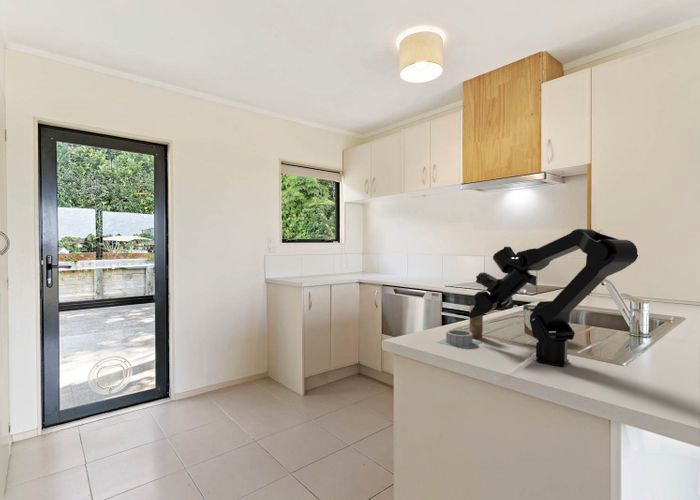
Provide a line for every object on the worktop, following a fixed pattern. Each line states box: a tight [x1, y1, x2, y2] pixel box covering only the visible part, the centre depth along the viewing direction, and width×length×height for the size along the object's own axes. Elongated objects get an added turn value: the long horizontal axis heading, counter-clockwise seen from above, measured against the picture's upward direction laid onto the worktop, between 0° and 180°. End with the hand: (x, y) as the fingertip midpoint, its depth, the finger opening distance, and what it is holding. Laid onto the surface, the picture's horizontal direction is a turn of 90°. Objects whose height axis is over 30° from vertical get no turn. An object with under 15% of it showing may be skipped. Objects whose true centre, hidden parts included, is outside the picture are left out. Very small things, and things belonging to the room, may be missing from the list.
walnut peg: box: [468, 305, 484, 340], centre depth 117 cm, size 4×4×11 cm
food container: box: [522, 304, 538, 341], centre depth 123 cm, size 12×6×10 cm, turn 179°
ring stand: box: [436, 329, 482, 350], centre depth 110 cm, size 10×10×4 cm
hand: (475, 314), depth 117 cm, fingers open, 9 cm apart
